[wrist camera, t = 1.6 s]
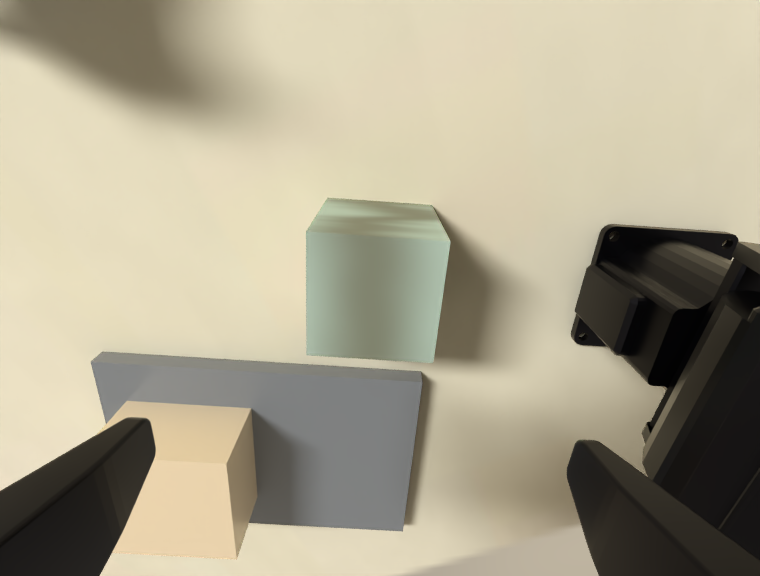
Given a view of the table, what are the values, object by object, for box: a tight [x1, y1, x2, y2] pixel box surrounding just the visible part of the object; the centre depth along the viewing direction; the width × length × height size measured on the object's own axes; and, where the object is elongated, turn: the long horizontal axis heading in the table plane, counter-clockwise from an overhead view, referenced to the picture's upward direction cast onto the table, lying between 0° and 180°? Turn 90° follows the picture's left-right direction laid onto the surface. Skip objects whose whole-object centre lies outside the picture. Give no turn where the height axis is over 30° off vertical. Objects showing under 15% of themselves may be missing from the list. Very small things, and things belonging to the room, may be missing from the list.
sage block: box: [306, 198, 451, 363], centre depth 18 cm, size 5×5×6 cm
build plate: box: [91, 352, 422, 560], centre depth 23 cm, size 18×12×5 cm, turn 86°
